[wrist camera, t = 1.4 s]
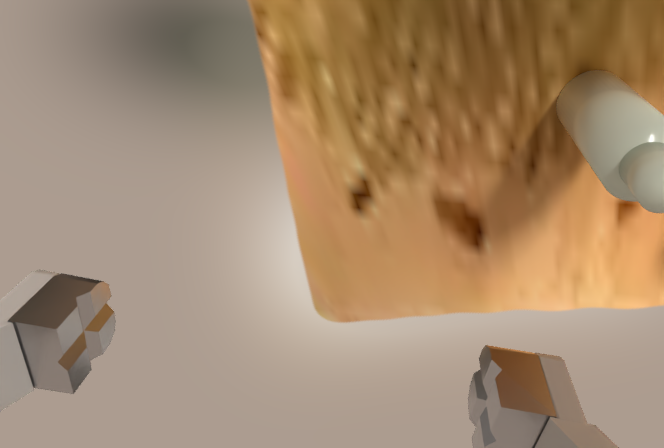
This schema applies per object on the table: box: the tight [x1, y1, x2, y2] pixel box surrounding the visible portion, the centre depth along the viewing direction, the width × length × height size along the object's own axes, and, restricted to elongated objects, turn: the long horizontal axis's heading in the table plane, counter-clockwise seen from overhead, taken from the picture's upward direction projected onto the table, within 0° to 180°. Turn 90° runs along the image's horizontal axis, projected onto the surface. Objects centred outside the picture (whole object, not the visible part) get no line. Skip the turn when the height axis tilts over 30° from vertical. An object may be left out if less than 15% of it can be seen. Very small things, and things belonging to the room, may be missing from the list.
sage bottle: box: [556, 70, 664, 213], centre depth 33 cm, size 5×5×14 cm
